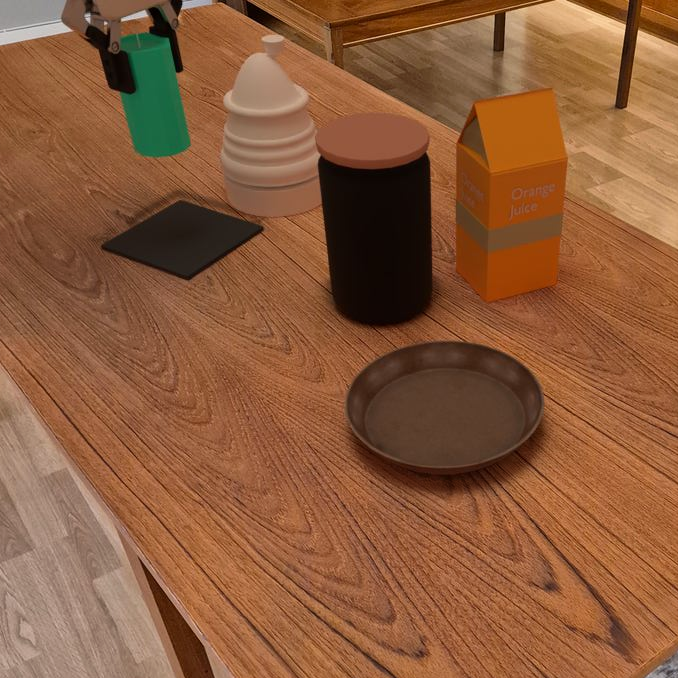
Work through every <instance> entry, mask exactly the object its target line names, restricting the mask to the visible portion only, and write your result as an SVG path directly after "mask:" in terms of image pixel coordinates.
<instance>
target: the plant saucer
mask: <svg viewBox="0 0 678 678" xmlns="http://www.w3.org/2000/svg"><path fill="white" fill-rule="evenodd" d="M544 395H545V394H544V390H543V387H542V385H541V383H540V381H539V379H538V377H536V375H535V374H534V373H533V371H531V369H530V368H529V367H528V366H526V365H525V364H524V363H523V362H521V360H519V359H517V358H515V357H514V356H512V355H510V354H508V353H507V352H504V351H502V350H500V349H497V348H494V347H491V346H488V345H485V344H481V343H477V342H471V341H470V342H469V341H462V340H432V341H431V340H430V341H423V342H417V343H413V344H412V343H411V344H408V345H405V346H401V347H398V348H396V349H392V350H391V351H388V352H386V353H383V354H382V355H380V356H378V357H376V358H375V359H373V360H372V361H371V362H369V363H368V364H366V366H364V367H363V368H362V369H361V370H359V372H358V373H357V375H355V376H354V378H353V379H352V381H351V383H350V385H349V387H348V388H347V391H346V394H345V398H344V413H345V417H346V420H347V423H348V425H349V427H350V429H351V430H352V432H353V433H354V434H355V436H356V437H357V438H358V439H359V441H361V442H362V443H363V444H364V445H365V446H366V447H367V448H368V449H369V450H371V452H373V453H375V454H376V455H377V456H379V457H380V458H382V459H384V460H385V461H387V462H389V463H391V464H393V465H395V466H397V467H400V468H404V469H406V470H410V471H413V472H416V473H422V474H428V475H429V474H430V475H443V476H444V475H459V474H465V473H471V472H475V471H479V470H480V469H481V470H482V469H484V468H486V467H489V466H491V465H494V464H495V463H498V462H500V461H502V460H503V459H505V458H507V457H509V456H510V455H512V454H513V453H514V452H515V451H516V450H518V449H519V448H520V447H521V446H523V445H524V444H525V443H526V441H527V440H529V439H530V438H531V436H532V435H533V433H535V431H536V429H537V428H538V426H539V425H540V422H541V421H542V418H543V416H544V410H545V396H544Z"/></svg>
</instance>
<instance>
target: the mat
mask: <svg viewBox="0 0 678 678" xmlns="http://www.w3.org/2000/svg"><path fill="white" fill-rule="evenodd" d="M263 231H265V226H263V225H261V224H257V223H254V222H252V221H248V220H246V219H242V218H239V217H236V216H232V215H229V214H227V213H223V212H220V211H217V210H214V209H210V208H208V207H205V206H201V205H199V204H195V203H192V202H189V201H186V200H182V199H179V200H177V201H175V202H173V203H172V204H170V205H168V206H167V207H165V208H163V209H161V210H159V211H158V212H156V213H155V214H153V215H151V216H149V217H147V218H145V219H144V220H141V221H140V222H139V223H137V224H135V225H133V226H131V227H130V228H128V229H126V230H124V231H123V232H121V233H119V234H118V235H116V236H114V237H112V238H111V239H108V240H107V241H105V242H103V243H102V244H101V245H100V247H101V250H103V251H106V252H109V253H112V254H115V255H118V256H120V257H123V258H126V259H129V260H131V261H134V262H137V263H140V264H142V265H145V266H148V267H151V268H154V269H156V270H159V271H161V272H164V273H168V274H171V275H172V276H175V277H179V278H181V279H184V280H187V281H190V280H192V278H194V277H195V276H198V274H200V273H201V272H203V271H205V270H206V269H208V268H209V267H210V266H212V265H214V264H215V263H217V262H218V261H220V260H221V259H223V258H224V257H226V256H227V255H228V254H230V253H232V252H233V251H234V250H236V249H238V248H239V247H241V246H242V245H243V244H246V243H247V242H248V241H250V240H252V239H253V238H255V237H256V236H258V235H259V234H261V233H263Z"/></svg>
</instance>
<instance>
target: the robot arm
mask: <svg viewBox="0 0 678 678" xmlns="http://www.w3.org/2000/svg"><path fill="white" fill-rule="evenodd" d="M183 1H184V0H66V1H65V4H64V7H63V10H62V13H61V17H60V20H61V22H62V24H63V25H64V26H66V27H67V28H69V29H70V30H71V31H73V32H74V33H76V34H78V36H79V37H80V38H81V39H82V40H84V41H86V42H87V43H88V44H89V45H90V47H91V48H93V49H95V50H97V51H98V54H99V57H100V58H99V59H100V63H101V65H102V69H103V73H104V76H105V77H104V78H105V81H106V82H107V86H108V88H109V89H110V90H113V91H115V92H119V93H120V92H123V93H126V94H130V95H131V94H133V93H135V91H136V87H135V83H134V79H133V75H132V70H131V66H130V62H129V58H128V54H127V53H126V51H123V50H120V46H121V37H122V19H124V18H127V17H130V16H133V15H135V14H138V13H140V12H143V11H145V13H146V14H147V16H148V18H149V20H150V22H151V24H152V25H150V26H148V33H150V34H153V35H156V36H159V37H164V38H169V42H170V47H171V52H172V56H173V61H174V66H175V71H176V74H180V73H183V72H184V65H183V59H182V54H181V50H180V46H179V40H178V34H177V32H176V31H177V30H179V28H180V25H181V24H180V19H179V16H180V13H181V10H182V9H183V5H184V4H183V3H184V2H183ZM86 14H89V21H90V22H89V21H88V20H87V19H86ZM105 22H106V33H105Z"/></svg>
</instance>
